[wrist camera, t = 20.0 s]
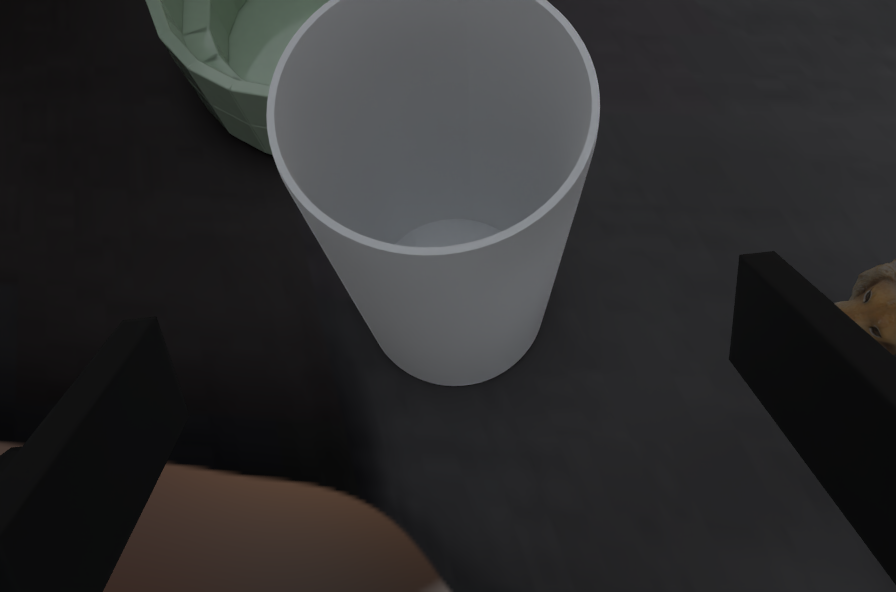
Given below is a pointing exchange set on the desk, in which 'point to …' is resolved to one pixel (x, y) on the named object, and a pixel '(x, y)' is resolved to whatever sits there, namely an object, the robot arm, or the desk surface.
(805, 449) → the robot arm
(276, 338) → the desk surface
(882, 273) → the lion figurine
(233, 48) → the ceramic bowl
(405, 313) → the cup
